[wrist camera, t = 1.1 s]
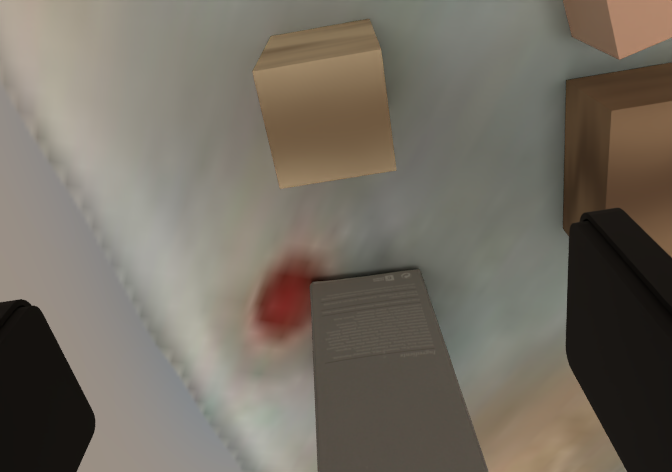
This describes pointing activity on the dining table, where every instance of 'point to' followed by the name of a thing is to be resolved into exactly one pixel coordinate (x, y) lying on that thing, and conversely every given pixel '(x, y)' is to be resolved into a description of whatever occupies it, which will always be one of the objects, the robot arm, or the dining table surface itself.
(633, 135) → the walnut block
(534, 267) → the dining table surface
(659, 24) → the terracotta cube
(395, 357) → the skincare box
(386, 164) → the oak block
